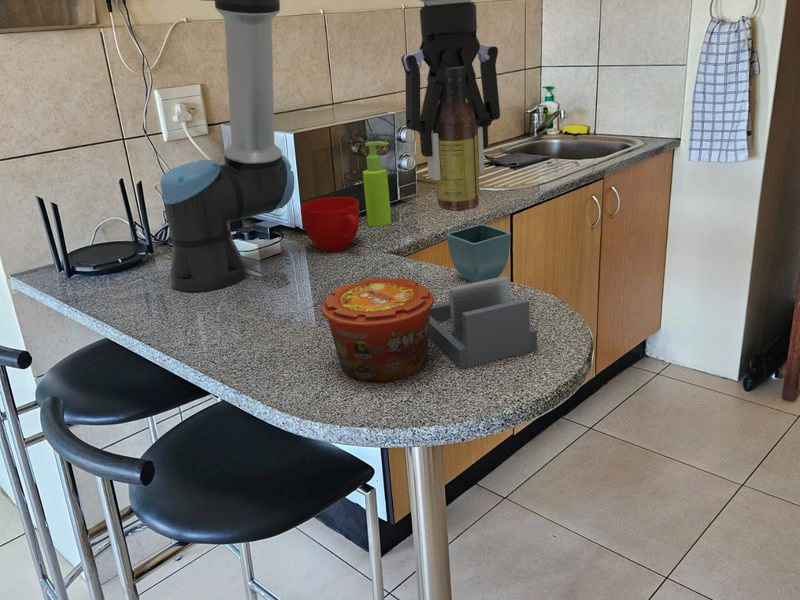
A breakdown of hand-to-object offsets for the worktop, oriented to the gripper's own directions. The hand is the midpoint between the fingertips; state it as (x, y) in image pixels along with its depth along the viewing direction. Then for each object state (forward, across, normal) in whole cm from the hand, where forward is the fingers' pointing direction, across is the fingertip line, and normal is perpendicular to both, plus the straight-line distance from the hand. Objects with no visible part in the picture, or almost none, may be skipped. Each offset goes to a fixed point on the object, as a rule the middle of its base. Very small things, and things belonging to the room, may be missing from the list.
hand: (456, 174), depth 101 cm
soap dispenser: (+25, +10, +68) cm, 73 cm away
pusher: (+25, 0, -6) cm, 26 cm away
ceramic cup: (+25, -6, +54) cm, 59 cm away
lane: (+25, 0, -2) cm, 25 cm away
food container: (+25, -15, -4) cm, 30 cm away
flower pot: (+25, +13, +20) cm, 34 cm away
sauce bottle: (+5, 0, 0) cm, 5 cm away
